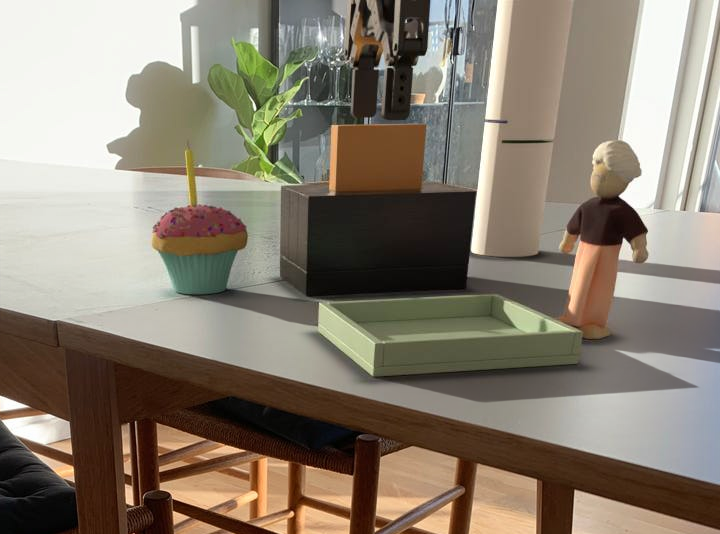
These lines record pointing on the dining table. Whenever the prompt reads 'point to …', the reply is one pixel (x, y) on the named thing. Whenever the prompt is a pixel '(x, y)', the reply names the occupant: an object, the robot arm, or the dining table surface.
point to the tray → (446, 334)
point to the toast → (377, 157)
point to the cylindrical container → (520, 125)
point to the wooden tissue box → (375, 239)
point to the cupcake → (198, 242)
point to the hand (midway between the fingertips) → (378, 118)
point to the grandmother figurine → (602, 239)
